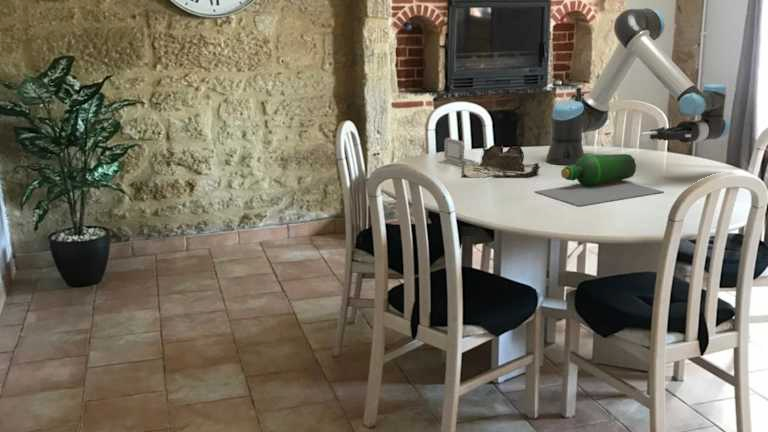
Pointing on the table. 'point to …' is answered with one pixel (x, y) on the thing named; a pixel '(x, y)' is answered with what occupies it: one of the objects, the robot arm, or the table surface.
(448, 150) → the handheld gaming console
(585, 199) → the mat
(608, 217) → the table surface
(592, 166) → the bottle
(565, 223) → the table surface
